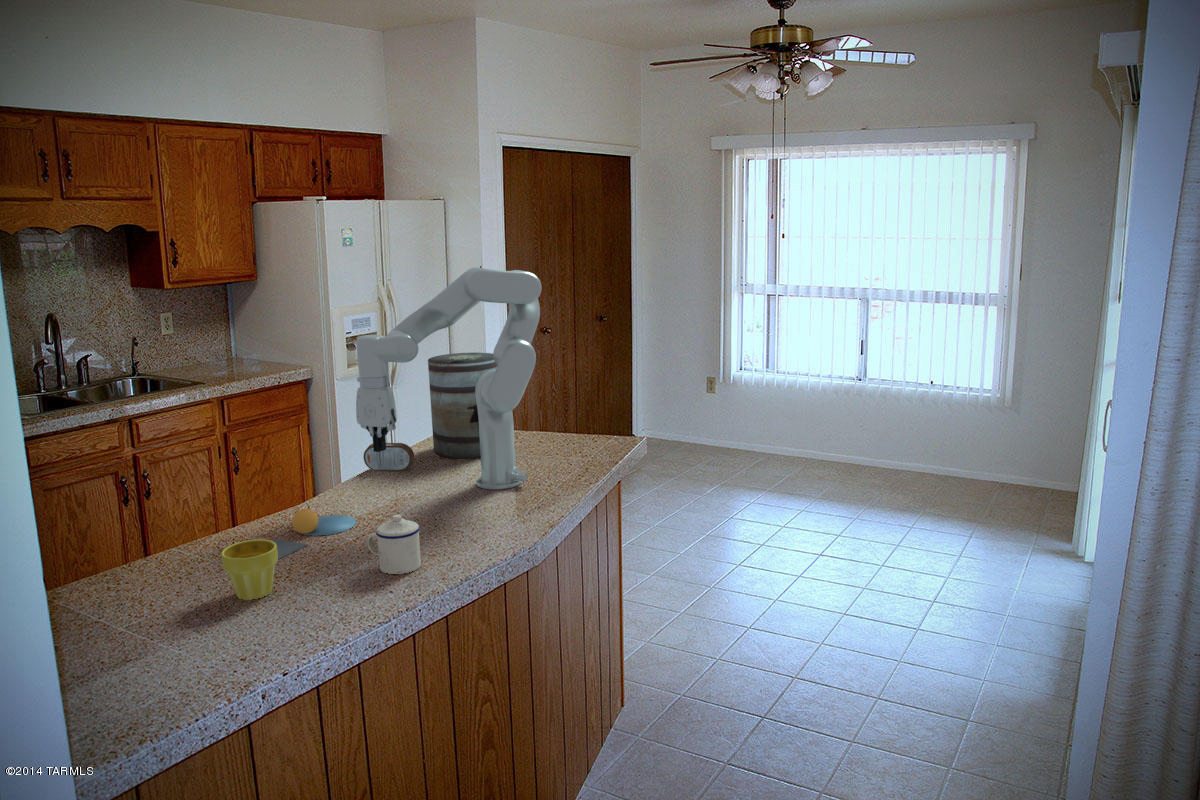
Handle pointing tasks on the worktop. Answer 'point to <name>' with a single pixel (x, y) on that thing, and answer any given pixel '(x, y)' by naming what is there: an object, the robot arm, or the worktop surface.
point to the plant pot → (251, 567)
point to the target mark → (333, 525)
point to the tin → (389, 457)
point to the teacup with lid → (397, 546)
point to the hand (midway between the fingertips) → (380, 450)
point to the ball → (305, 521)
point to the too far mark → (287, 547)
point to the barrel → (456, 402)
